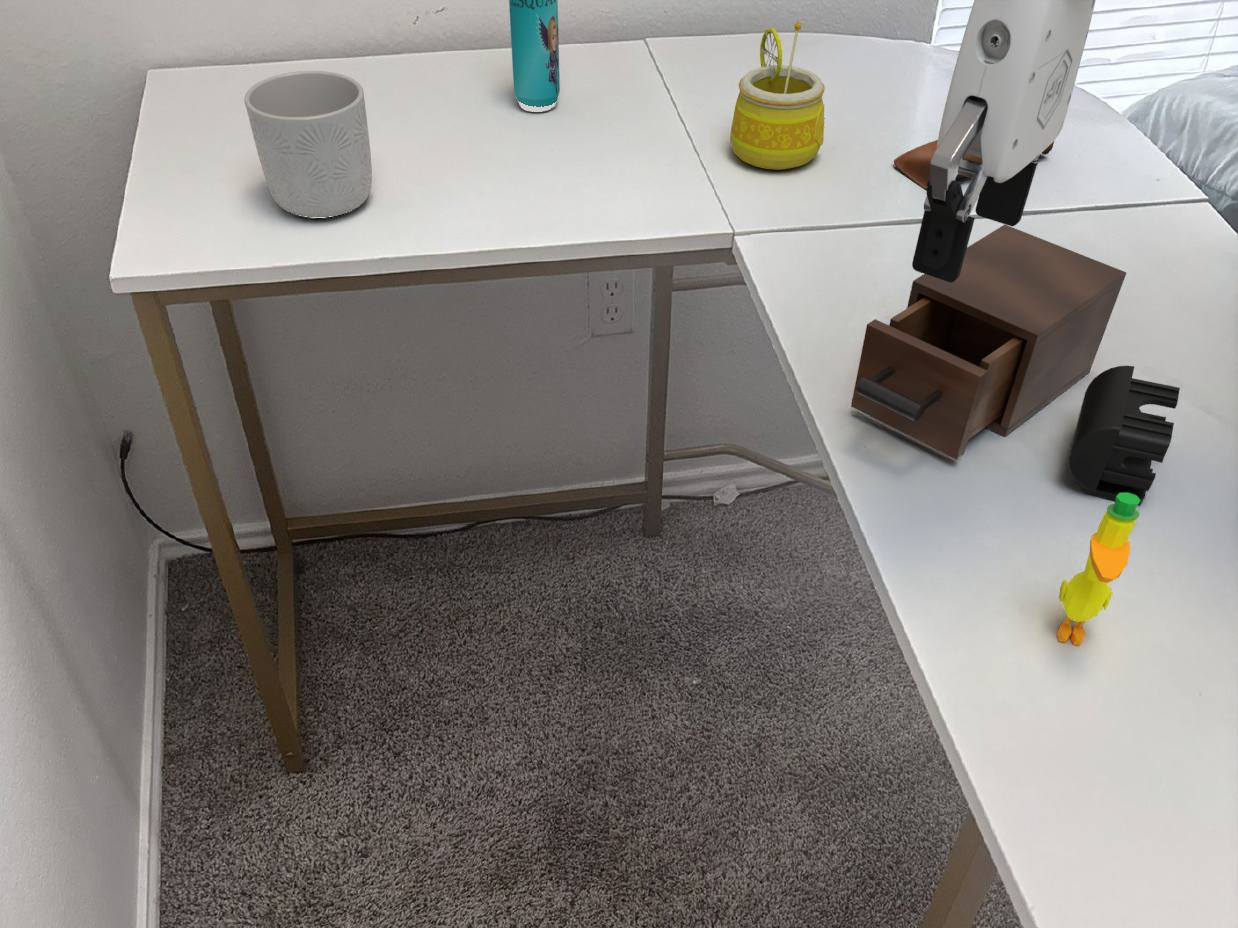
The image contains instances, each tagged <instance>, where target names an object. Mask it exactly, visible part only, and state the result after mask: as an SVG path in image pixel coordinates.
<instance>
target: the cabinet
mask: <svg viewBox="0 0 1238 928" xmlns="http://www.w3.org/2000/svg"><path fill="white" fill-rule="evenodd" d="M1126 276H1127V272H1126V271H1124V270H1121V269H1119V268H1116V267H1114V266H1111V265H1109V264H1106V263H1104V262H1101V261H1099V260H1096V259H1094V258H1091V257H1089V256H1086V255H1083V254H1081V253H1078V252H1076V251H1074V250H1071V249H1068V248H1066V247H1063V246H1061V245H1058V244H1057V243H1053V242H1050V241H1048V240H1046V239H1043V238H1041V237H1037V236H1036V235H1033V234H1030V233H1028V232H1026V231H1023V230H1020V229H1018V228H1016V227H1014V226H1009V225H1006V224H1003V225H1001V226H1000V227H998V228H996V229H995V230H993V231H991V232H990V233H988V234H987V235H985V236H984V237H982V238H980V239H979V240H977V241H976V242H974V243H972V244H970V245H968V246H967V250H966V253H965V257H964V261H963V265H962V268H961V272H960V275H959V277H958V278H957V279H956V280H955V281H954V282H947V281H944V280H941V279H938V278H936V277H933V276H930V275H927V274H924V273H922V274H921V275H920V276H918V277H917V278H915V279H913V280H912V284H911V289H910V293H909V296H908V297H909V298H908V301H907V306H906V309H907V308H908V307H910V306H912V305H913V304H915V303H916V302H918V301H919V300H921V299H923V298H924V297H926V296H927V297H930V298H932V299H934V300H936V301H939V302H941V303H943V304H946V305H948V306H950V307H952V308H955V309H957V310H959V311H961V312H964V313H966V314H968V315H971V316H973V317H975V318H977V319H980V320H982V321H984V322H987V323H989V324H991V325H993V326H996V327H998V328H1000V329H1002V330H1005V331H1007V332H1009V333H1012V334H1014V335H1016V336H1018V337H1021V338H1023V339H1025V340H1027V343H1026V346H1025V349H1024V352H1023V356H1022V359H1021V362H1020V365H1019V368H1018V371H1017V374H1016V378H1015V381H1014V384H1013V387H1012V390H1011V393H1010V397H1009V400H1008V403H1007V406H1006V409H1005V412H1004V414H1002V415H1001V416H1000V417H998V418H997V419H996V420H994V421H993V422H992V423H990V424H989V425H988V426H986V427H985V429H988V430H990V431H992V432H994V433H996V434H999V435H1000V436H1003V437H1007V436H1008V435H1010V434H1011V433H1012V432H1013V431H1015V430H1016V429H1017V428H1019V427H1020V426H1022V425H1023V424H1024V423H1025V422H1026V421H1028V420H1030V419H1031V418H1032V417H1033V416H1034V415H1036V414H1037V413H1039V412H1040V411H1041V410H1042V409H1044V408H1045V407H1047V406H1048V405H1049V404H1050V403H1051V402H1053V401H1055V400H1056V399H1057V398H1058V397H1060V396H1061V395H1062V394H1063V393H1065V392H1066V391H1068V389H1070V388H1071V387H1073V386H1074V385H1076V384H1077V383H1078V382H1079V381H1080V380H1082V379H1083V378H1084V377H1086V376H1087V375H1088V374H1090V373H1091V369H1092V367H1093V364H1094V362H1095V359H1096V356H1097V354H1098V351H1099V349H1100V345H1101V343H1102V340H1103V338H1104V334H1105V333H1106V329H1107V327H1108V324H1109V321H1110V319H1111V316H1112V313H1113V310H1114V309H1115V306H1116V303H1117V300H1118V298H1119V295H1120V293H1121V289H1122V286H1123V283H1124V281H1125V278H1126Z"/></svg>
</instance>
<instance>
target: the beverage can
mask: <svg viewBox="0 0 1238 928" xmlns="http://www.w3.org/2000/svg"><path fill="white" fill-rule="evenodd" d="M508 5H509V8H508V9H509V21H510V22H509V24H510V25H509V26H510V44H511V45H510V46H511V60H512V61H511V62H512V80H513V93H514V95H515V99H516V98H517V99H516V101H517V100H518V101H519V102H521V103H523V104H525V105H528V106H533V107H534V106H536V107H541V106H542V107H544V106H549V105H552V104H553V103H555V102H556V101H557V102H558V98H559V95H560V92H561V87H560V86H561V84H560V83H561V81H560V45H559V6H558V0H508ZM518 101H517V102H518ZM557 102H556V103H557Z"/></svg>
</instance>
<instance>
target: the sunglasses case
mask: <svg viewBox="0 0 1238 928" xmlns="http://www.w3.org/2000/svg"><path fill="white" fill-rule="evenodd" d="M937 142H938V139H935V140H932V141H929V142H927V143H924V144H922V145H919V146H917V147H915V148H913V149H911V150H908V151H906V152H904V153H902V154H900V155H898V156H897V157H896V158H894V160H893V164H894V167H896V168H897V169H898V170H899V171H900V172H901V173H902V174H903V175H904V176H905V177H907V179H909V180H911V181H912V182H913V183H915V184H916V183H917V185H918V186H919V187H921V188H922V189H924V190H925V191H927V190H926V188H927V187H928V186H927V183H928V181H929V180H930V163H931V159H932V157H933V154H934V152H935V151H936V149H937ZM1054 144H1055V141H1054V142H1053V143H1052V144H1051V145H1050V146H1048V147H1047V148H1046V149H1045V150H1044V151H1043V152H1042V153H1041V154H1042V155H1048V154H1049V153H1050V152H1051V151H1052V150H1053V148H1054ZM963 158H965V159H969V160H972V161H975V162H979V163H982V158H980V157H977V156H974V155H970V154H967V153H965V155H964V156H963ZM964 177H965V176H963V175H960V174H958V175H957V176H956V178H955V181H957V180H958V179H962V178H964Z"/></svg>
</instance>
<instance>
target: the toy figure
mask: <svg viewBox="0 0 1238 928" xmlns="http://www.w3.org/2000/svg"><path fill="white" fill-rule="evenodd" d="M1140 501H1141V500H1140V499H1139V498H1138V497H1137V496H1136V495H1134V494H1131V493H1119V494H1118V495H1117V496H1116V500H1115V501H1114V503H1111V504H1109V505H1108V506H1107V507H1106V511H1105V512H1104V514H1103V516H1102V518H1101V521H1100V523H1099V526H1098V528H1097V530H1096V532H1094V533H1093V534H1092V535H1091V537H1090V542H1089V553H1088V557H1087V561H1086V564H1085V568H1084V570H1083V571H1081V572H1079V573H1077V574H1074V575H1073V577H1072V578H1071V579H1070V580H1069V582H1068V580H1067V579H1063V580H1062V582H1061V584H1060V587H1059V594H1058V600H1059V602H1060V603H1061V604H1062V607H1063V609H1064V612H1065V614H1066V616H1065V619H1064V621H1063V622H1061V623H1060V626H1059V628H1058V630H1057V632H1056V633H1057V634H1056V637H1057V640H1058V642H1059V643H1067V641H1069V639H1070V641H1071V643H1072V645H1074V646H1081V645H1082V643H1083V641H1084V639H1085V636H1086V631H1085V629H1084V628H1083V626H1084V624H1085V622H1086V621H1089V620H1090V619H1093V618H1095V617H1097V616H1098V615H1099V614H1100V612H1101V611H1102V610H1104V611H1105V610H1107V608H1108V606H1109V603H1110V601H1111V599H1112V596H1113V594H1114V593H1113V591H1112V588H1111V587H1110V586H1109V583H1111V582H1113V581H1114V580H1116V579H1119V578H1120V576H1121V574H1122V573H1123V572H1124V570H1125V568H1126V567H1127V565H1128V562H1129V557H1130V553H1131V542H1130V541H1129V537H1130V535H1131V533H1132V531H1133V529H1134V527H1135V525H1136V523H1137V520H1138V518H1139V516H1140V512H1139V510H1138V509H1137V507H1138V506H1139V505H1138V504H1139V502H1140ZM1071 621H1074V622H1076V623H1077V624H1074V625H1072V626H1073V627H1071V624H1070V623H1071Z"/></svg>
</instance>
